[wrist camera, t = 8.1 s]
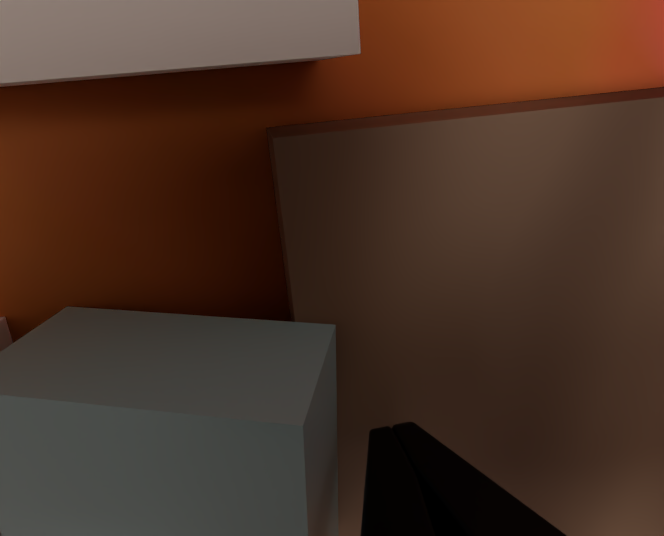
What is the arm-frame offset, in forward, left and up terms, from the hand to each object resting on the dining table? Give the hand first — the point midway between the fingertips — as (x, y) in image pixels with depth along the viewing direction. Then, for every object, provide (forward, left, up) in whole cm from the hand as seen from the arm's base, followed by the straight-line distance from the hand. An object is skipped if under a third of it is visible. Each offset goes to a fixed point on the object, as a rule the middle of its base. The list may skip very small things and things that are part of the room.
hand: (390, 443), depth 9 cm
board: (-4, 0, -2) cm, 4 cm away
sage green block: (+3, 0, -1) cm, 3 cm away
